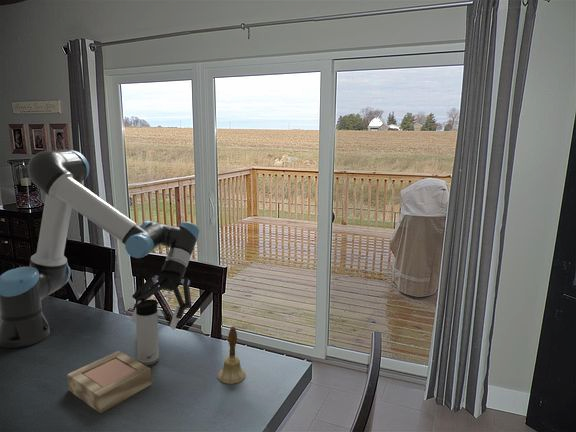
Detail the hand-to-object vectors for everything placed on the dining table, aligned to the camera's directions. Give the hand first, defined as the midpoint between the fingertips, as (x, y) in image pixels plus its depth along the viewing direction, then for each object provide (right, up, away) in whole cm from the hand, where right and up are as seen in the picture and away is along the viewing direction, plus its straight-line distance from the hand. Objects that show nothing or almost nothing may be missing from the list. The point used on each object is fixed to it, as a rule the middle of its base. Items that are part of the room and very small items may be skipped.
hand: (152, 324), depth 126 cm
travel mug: (-2, -12, +2) cm, 12 cm away
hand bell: (+25, -14, -5) cm, 30 cm away
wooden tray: (-8, -14, -12) cm, 20 cm away
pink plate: (-8, -11, -13) cm, 19 cm away
